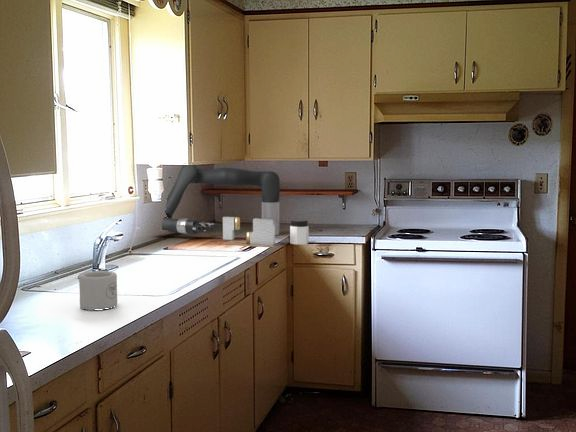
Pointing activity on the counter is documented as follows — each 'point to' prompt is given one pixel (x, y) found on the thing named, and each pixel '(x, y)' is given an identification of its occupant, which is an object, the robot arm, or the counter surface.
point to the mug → (98, 290)
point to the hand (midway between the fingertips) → (217, 227)
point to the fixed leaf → (262, 232)
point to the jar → (299, 231)
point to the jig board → (241, 243)
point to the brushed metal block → (230, 227)
